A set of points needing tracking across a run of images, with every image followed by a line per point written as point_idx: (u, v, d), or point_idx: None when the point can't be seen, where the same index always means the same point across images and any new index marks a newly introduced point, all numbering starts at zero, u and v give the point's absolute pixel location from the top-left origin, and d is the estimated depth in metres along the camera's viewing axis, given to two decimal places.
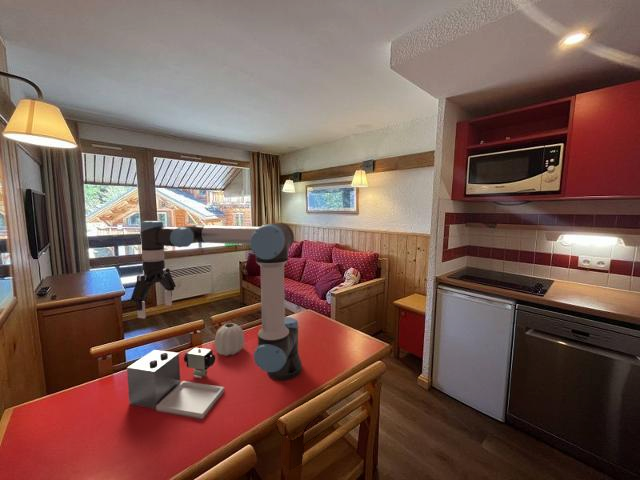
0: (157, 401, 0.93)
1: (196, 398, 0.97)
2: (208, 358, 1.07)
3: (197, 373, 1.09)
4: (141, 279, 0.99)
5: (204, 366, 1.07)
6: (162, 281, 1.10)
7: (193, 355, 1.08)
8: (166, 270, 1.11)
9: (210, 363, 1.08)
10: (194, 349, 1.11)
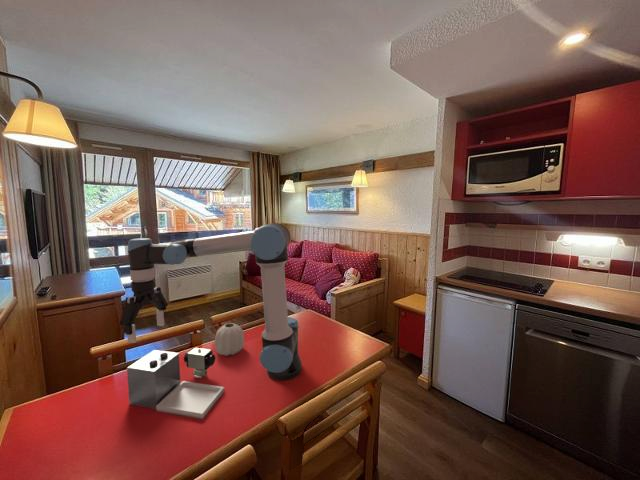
0: (157, 401, 0.93)
1: (196, 398, 0.97)
2: (208, 358, 1.07)
3: (197, 373, 1.09)
4: (130, 301, 0.93)
5: (204, 366, 1.07)
6: (153, 301, 1.04)
7: (193, 355, 1.08)
8: (157, 289, 1.06)
9: (210, 363, 1.08)
10: (194, 349, 1.11)
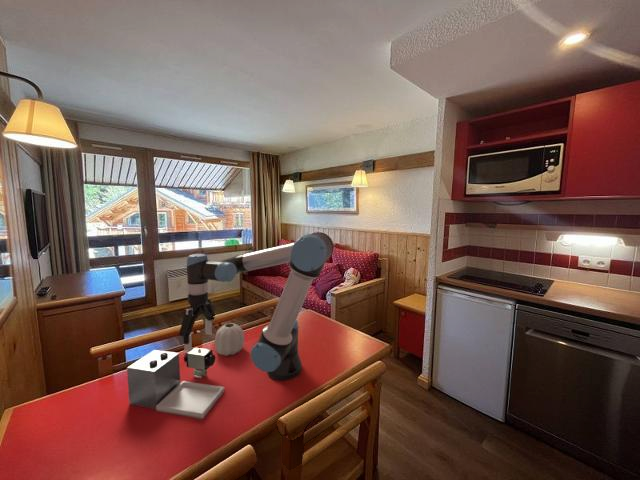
0: (157, 401, 0.93)
1: (196, 398, 0.97)
2: (208, 358, 1.07)
3: (197, 373, 1.09)
4: (189, 313, 1.01)
5: (204, 366, 1.07)
6: (204, 312, 1.11)
7: (193, 355, 1.08)
8: (208, 301, 1.13)
9: (210, 363, 1.08)
10: (194, 349, 1.11)
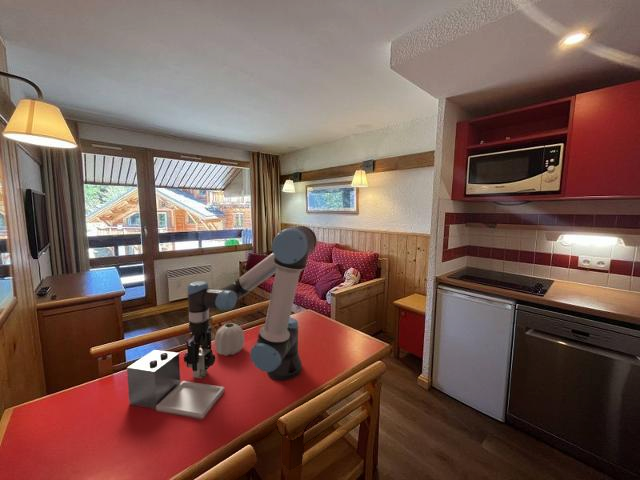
0: (157, 401, 0.93)
1: (196, 398, 0.97)
2: (208, 358, 1.07)
3: None
4: (191, 345, 1.03)
5: (204, 366, 1.07)
6: (203, 341, 1.11)
7: None
8: (209, 329, 1.15)
9: (210, 363, 1.08)
10: None
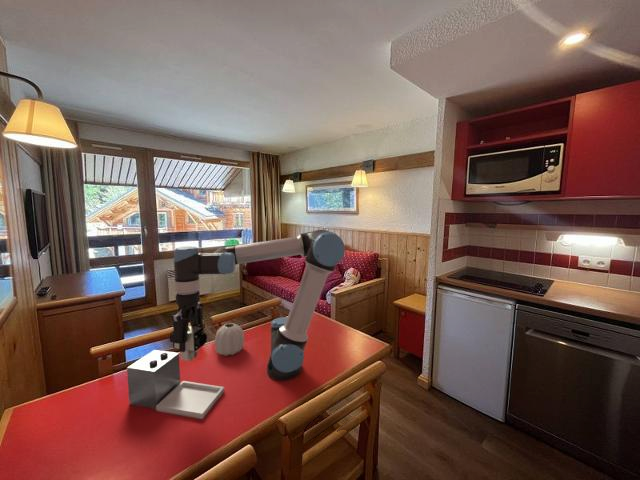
0: (157, 401, 0.93)
1: (196, 398, 0.97)
2: (198, 337, 0.91)
3: None
4: (177, 320, 0.86)
5: (193, 346, 0.91)
6: (193, 317, 0.94)
7: None
8: (200, 304, 0.98)
9: (200, 343, 0.91)
10: None
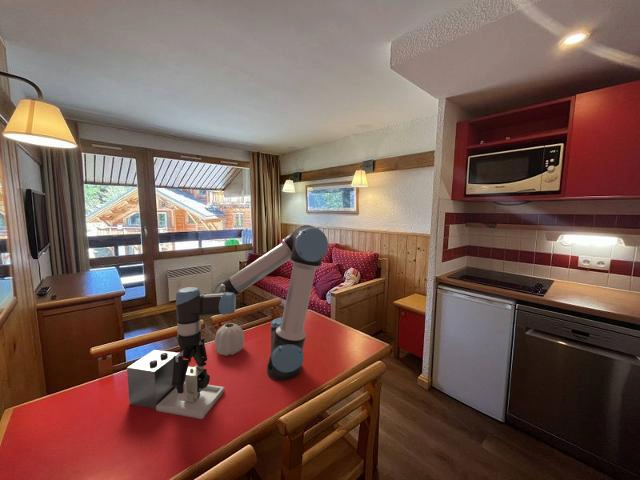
0: (157, 401, 0.93)
1: None
2: (201, 379, 0.93)
3: (188, 396, 0.95)
4: (179, 361, 0.88)
5: (197, 388, 0.93)
6: (196, 354, 0.97)
7: None
8: (201, 340, 1.00)
9: (204, 385, 0.94)
10: None
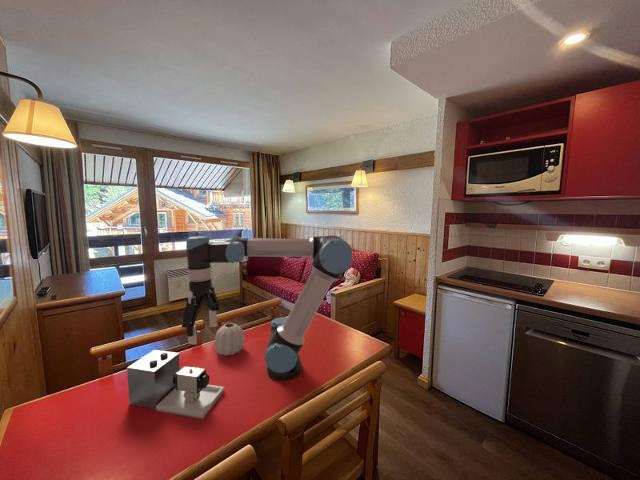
0: (157, 401, 0.93)
1: None
2: (201, 379, 0.93)
3: (188, 396, 0.95)
4: (191, 302, 0.90)
5: (196, 389, 0.93)
6: (208, 301, 1.00)
7: (183, 376, 0.93)
8: (211, 289, 1.02)
9: (203, 385, 0.93)
10: (185, 369, 0.97)
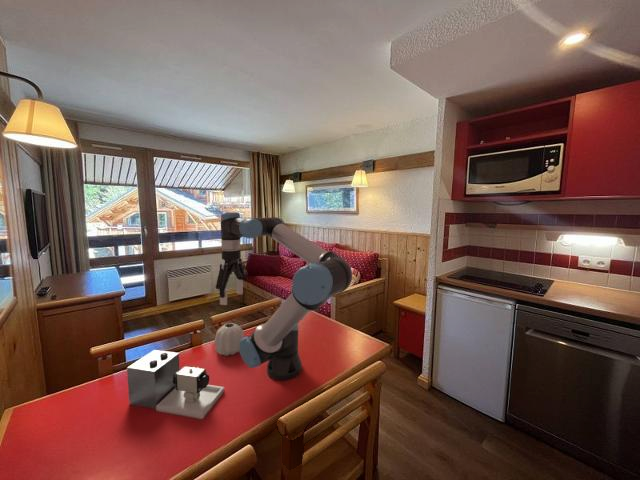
0: (157, 401, 0.93)
1: None
2: (201, 379, 0.93)
3: (188, 396, 0.95)
4: (224, 267, 1.04)
5: (196, 389, 0.93)
6: (237, 270, 1.14)
7: (183, 376, 0.93)
8: (239, 260, 1.16)
9: (203, 385, 0.93)
10: (185, 369, 0.97)
